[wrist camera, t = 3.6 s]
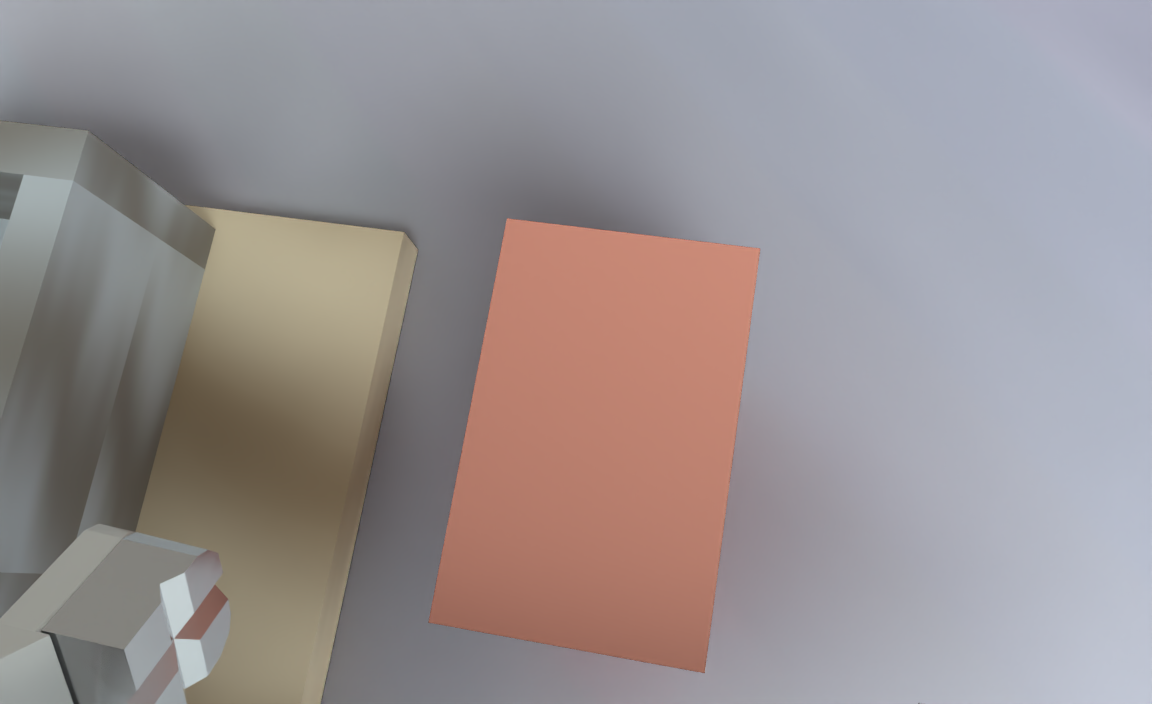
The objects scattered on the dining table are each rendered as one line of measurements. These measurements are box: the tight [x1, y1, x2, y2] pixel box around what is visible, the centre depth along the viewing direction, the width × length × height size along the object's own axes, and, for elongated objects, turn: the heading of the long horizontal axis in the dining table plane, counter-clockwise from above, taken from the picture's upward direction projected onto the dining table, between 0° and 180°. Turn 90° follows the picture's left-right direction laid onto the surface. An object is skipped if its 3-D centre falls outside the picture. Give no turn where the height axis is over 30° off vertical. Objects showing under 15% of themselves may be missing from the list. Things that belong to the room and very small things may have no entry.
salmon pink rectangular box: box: [428, 218, 760, 673], centre depth 17 cm, size 6×4×9 cm, turn 170°
